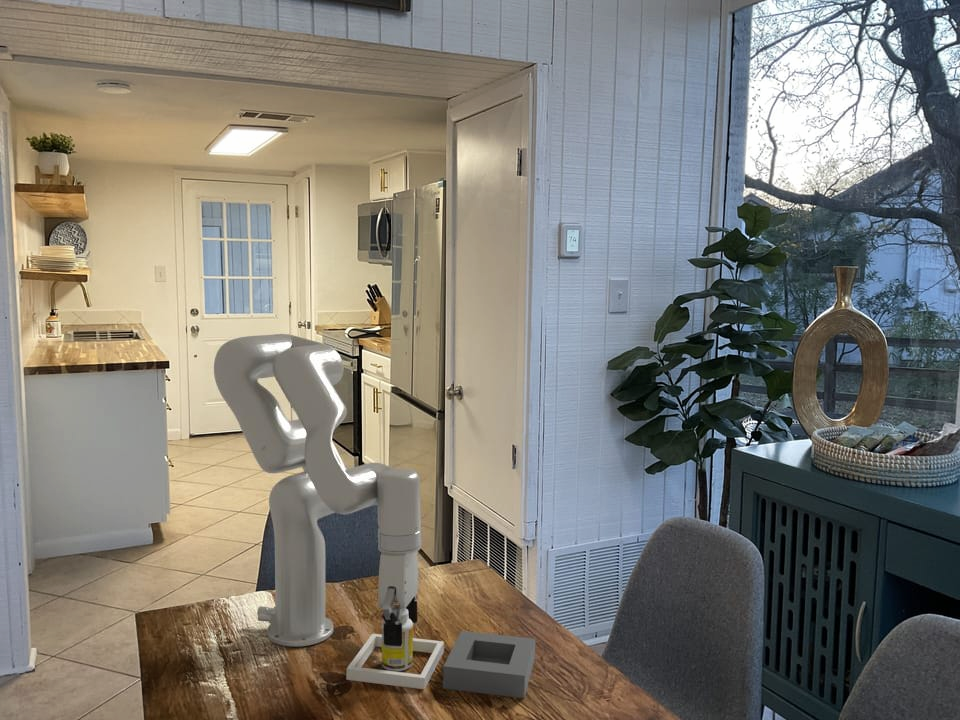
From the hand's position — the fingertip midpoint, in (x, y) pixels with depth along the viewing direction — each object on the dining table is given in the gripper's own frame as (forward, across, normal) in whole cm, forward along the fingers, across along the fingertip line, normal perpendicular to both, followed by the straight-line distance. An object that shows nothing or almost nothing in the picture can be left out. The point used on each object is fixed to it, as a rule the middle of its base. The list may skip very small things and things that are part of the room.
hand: (401, 633), depth 145 cm
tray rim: (+6, 0, -1) cm, 6 cm away
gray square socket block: (+7, -1, +16) cm, 17 cm away
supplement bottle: (+6, 0, -1) cm, 7 cm away
